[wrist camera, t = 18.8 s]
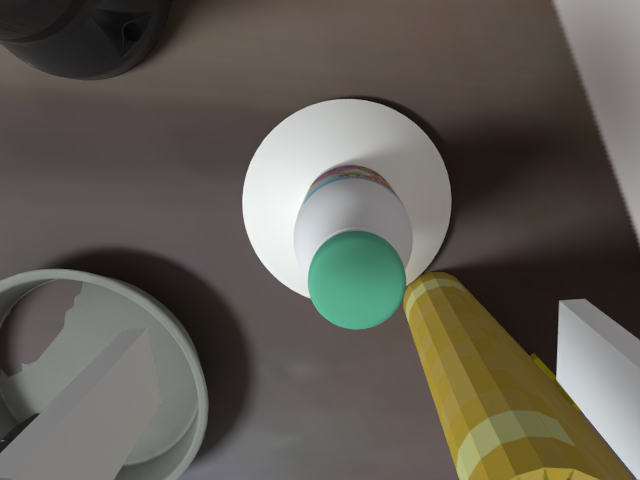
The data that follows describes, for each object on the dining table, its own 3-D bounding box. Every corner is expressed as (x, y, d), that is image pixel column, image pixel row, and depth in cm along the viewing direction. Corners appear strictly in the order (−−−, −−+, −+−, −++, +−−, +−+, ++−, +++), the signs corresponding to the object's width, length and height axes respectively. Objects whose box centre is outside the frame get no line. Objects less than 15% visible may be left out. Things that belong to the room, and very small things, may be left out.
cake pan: (221, 265, 44) (208, 282, 40) (218, 486, 50) (206, 521, 46) (-37, 245, 45) (-78, 259, 41) (-9, 465, 51) (-42, 498, 47)
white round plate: (231, 109, 40) (229, 109, 39) (446, 89, 39) (448, 88, 38) (257, 307, 45) (255, 311, 44) (451, 293, 44) (453, 297, 43)
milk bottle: (377, 260, 42) (408, 382, 23) (293, 234, 42) (253, 335, 22) (407, 177, 40) (468, 233, 21) (320, 149, 40) (300, 179, 21)
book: (558, 379, 45) (807, 679, 21) (502, 421, 47) (675, 747, 23) (442, 255, 43) (573, 435, 19) (386, 303, 44) (441, 528, 20)
